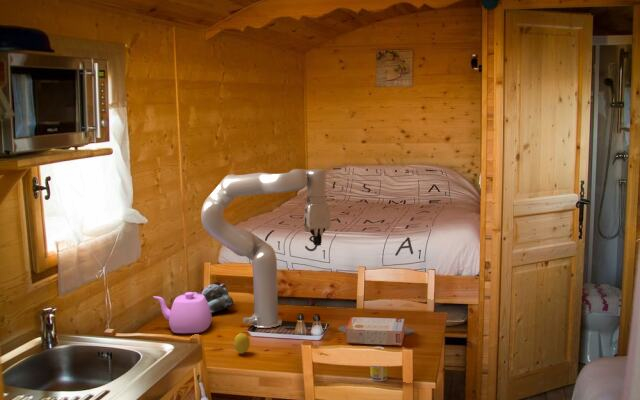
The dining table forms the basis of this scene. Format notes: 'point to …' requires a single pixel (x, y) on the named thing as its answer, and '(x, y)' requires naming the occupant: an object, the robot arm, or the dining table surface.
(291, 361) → the dining table surface
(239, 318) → the dining table surface
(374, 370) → the supplement bottle
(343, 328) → the slate mat
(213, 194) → the robot arm
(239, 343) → the lemon
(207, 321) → the teapot
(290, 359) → the dining table surface
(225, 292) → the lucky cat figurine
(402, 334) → the cracker box
